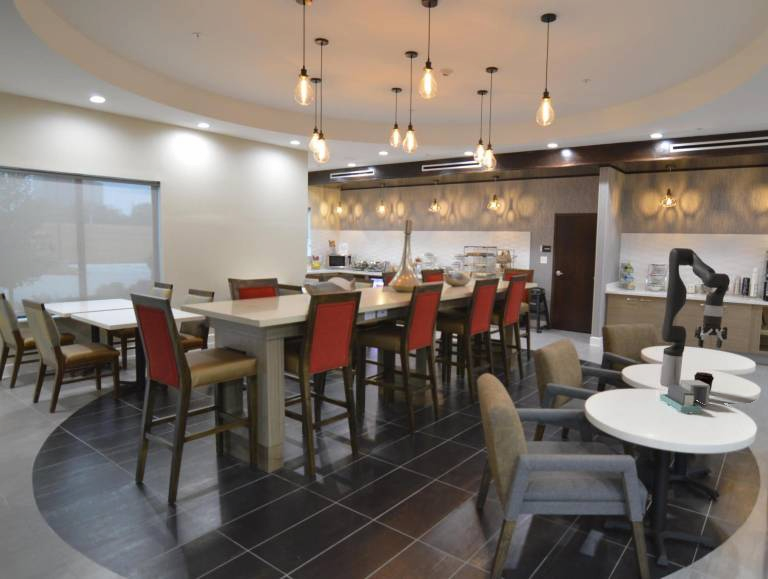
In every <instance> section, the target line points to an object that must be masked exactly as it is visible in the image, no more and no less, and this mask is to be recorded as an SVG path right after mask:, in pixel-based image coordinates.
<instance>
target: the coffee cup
mask: <svg viewBox="0 0 768 579" xmlns="http://www.w3.org/2000/svg"><path fill="white" fill-rule="evenodd" d="M713 375H714V374H712V373H710V372H704V371H702V372H701V371H700V372H698V371H697V372H696V373H695V374H694V380H700V381H702V382H704V383H706V384H708V385H710V391H709V395H710V394H711V390H712V386H713V381H714V379H715V377H714V376H713Z"/></svg>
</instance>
